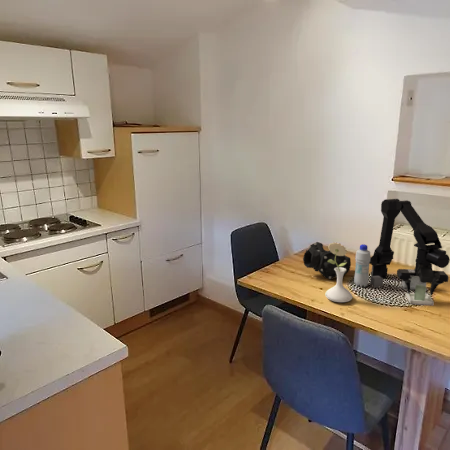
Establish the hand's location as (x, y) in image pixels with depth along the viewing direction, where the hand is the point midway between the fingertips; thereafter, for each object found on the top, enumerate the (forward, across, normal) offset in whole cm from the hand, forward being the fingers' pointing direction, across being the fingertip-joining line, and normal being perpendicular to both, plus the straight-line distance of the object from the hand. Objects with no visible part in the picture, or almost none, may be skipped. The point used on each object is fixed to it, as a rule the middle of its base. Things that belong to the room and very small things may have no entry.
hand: (419, 294), depth 165 cm
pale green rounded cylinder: (+2, 0, 0) cm, 3 cm away
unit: (+3, +1, +14) cm, 14 cm away
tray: (+3, 0, 0) cm, 3 cm away
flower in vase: (+3, -34, -3) cm, 34 cm away
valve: (+3, -40, +30) cm, 50 cm away
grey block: (+3, -15, +14) cm, 21 cm away
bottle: (+3, -22, +13) cm, 26 cm away
